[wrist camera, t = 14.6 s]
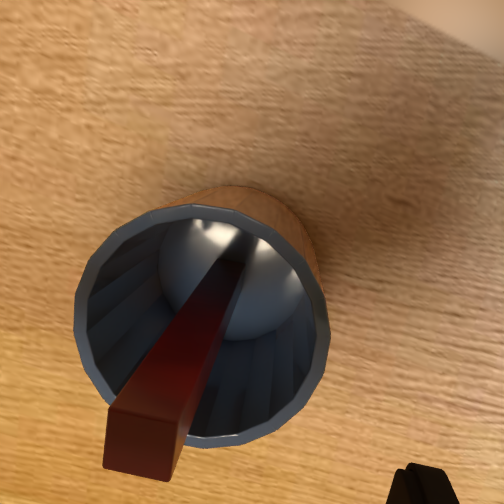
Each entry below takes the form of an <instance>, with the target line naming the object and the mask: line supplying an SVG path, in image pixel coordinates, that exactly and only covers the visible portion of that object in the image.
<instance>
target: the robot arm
mask: <svg viewBox="0 0 504 504" xmlns="http://www.w3.org/2000/svg"><path fill="white" fill-rule="evenodd" d="M386 504H460V503H459V501H458V499H457V497H456V494H455V492H454V490H453V488H452V486H451V483H450V481H449V479H448V477H447V475H446V473H445V472H444V471H443V470H442V469H439V468H434V467H430V466H425V465H421V464H416V463H409V464H408V465H407V467H406V469H405V470H404V469H397V471H396V473H395V475H394V479H393V482H392V485H391V489H390V492H389V495H388V499H387V502H386Z"/></svg>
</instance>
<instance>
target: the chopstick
mask: <svg viewBox="0 0 504 504" xmlns="http://www.w3.org/2000/svg"><path fill="white" fill-rule="evenodd" d="M245 267H246V264H244V263H239V262H234V261H229V260H223V259H216V261H215V262H214V263H213V265H212V266H211V268H210V269H209V270H208V272H207V273H206V275H205V276H204V277H203V279H202V280H201V281H200V283H199V284H198V286H197V287H196V288H195V290H194V291H193V292H192V294H191V295H190V297H189V298H188V299H187V301H186V302H185V303H184V305H183V306H182V308H181V309H180V310H179V312H178V313H177V314H176V316H175V317H174V319H173V320H172V321H171V323H170V324H169V325H168V327H167V328H166V330H165V331H164V332H163V334H162V335H161V336H160V338H159V339H158V341H157V342H156V343H155V345H154V346H153V347H152V349H151V350H150V352H149V353H148V354H147V356H146V357H145V359H144V360H143V361H142V363H141V364H140V365H139V367H138V368H137V370H136V371H135V372H134V374H133V375H132V376H131V378H130V379H129V381H128V382H127V383H126V385H125V386H124V387H123V389H122V390H121V392H120V393H119V394H118V396H117V397H116V398H115V400H114V401H113V403H112V404H111V405H110V407H109V408H108V416H107V425H106V435H105V445H104V454H103V464H102V466H103V468H104V469H108V470H113V471H117V472H122V473H127V474H131V475H136V476H140V477H145V478H150V479H154V480H159V481H163V482H169V481H170V480H171V478H172V475H173V472H174V470H175V467H176V464H177V461H178V459H179V456H180V453H181V451H182V448H183V445H184V443H185V440H186V437H187V435H188V432H189V429H190V427H191V424H192V421H193V419H194V416H195V413H196V411H197V408H198V405H199V403H200V400H201V397H202V395H203V392H204V389H205V387H206V384H207V381H208V378H209V376H210V373H211V370H212V368H213V365H214V362H215V360H216V357H217V354H218V352H219V349H220V346H221V344H222V341H223V338H224V336H225V333H226V330H227V328H228V325H229V322H230V320H231V317H232V314H233V312H234V309H235V306H236V304H237V301H238V298H239V295H240V293H241V290H242V284H243V278H244V272H245Z"/></svg>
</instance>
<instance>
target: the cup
mask: <svg viewBox="0 0 504 504" xmlns="http://www.w3.org/2000/svg"><path fill="white" fill-rule="evenodd" d="M216 259H223V260H229V261H234V262H239V263H244V264H246V267H245V272H244V278H243V284H242V290H241V293H240V295H239V298H238V301H237V304H236V306H235V309H234V312H233V314H232V317H231V320H230V322H229V325H228V328H227V330H226V333H225V336H224V338H223V341H222V344H221V346H220V349H219V352H218V354H217V357H216V360H215V362H214V365H213V368H212V370H211V373H210V376H209V378H208V381H207V384H206V387H205V389H204V392H203V395H202V397H201V400H200V403H199V405H198V408H197V411H196V413H195V416H194V419H193V421H192V424H191V427H190V429H189V432H188V435H187V437H186V440H185V443H184V445H185V446H191V447H196V448H202V449H204V448H205V449H208V448H218V447H228V446H238V445H243V444H246V443H248V442H251V441H253V440H255V439H258V438H260V437H263V436H265V435H268V434H270V433H272V432H275V431H276V430H278V429H279V428H280V427H281V426H283V425H284V424H285V423H286V422H287V421H288V420H290V419H291V418H292V417H293V416H294V415H295V414H297V413H298V412H299V411H300V410H301V409H302V408H304V406H305V405H306V404H307V402H308V400H309V399H310V397H311V395H312V393H313V392H314V390H315V388H316V387H317V385H318V383H319V382H320V380H321V378H322V376H323V374H324V371H325V366H326V361H327V356H328V351H329V345H330V340H331V331H330V324H329V318H328V311H327V305H326V298H325V294H324V290H323V285H322V281H321V277H320V273H319V268H318V264H317V260H316V256H315V251H314V247H313V244H312V242H311V240H310V238H309V235H308V234H307V232H306V230H305V228H304V226H303V225H302V223H301V222H300V220H299V219H298V218H297V216H296V215H295V214H294V213H293V212H292V211H291V210H290V209H289V208H288V207H287V206H285V205H284V204H283V203H282V202H281V201H279V200H277V199H276V198H274V197H272V196H271V195H268V194H266V193H264V192H262V191H259V190H255V189H252V188H248V187H241V186H222V187H215V188H211V189H206V190H202V191H199V192H196V193H194V194H191V195H189V196H186V197H183V198H181V199H178V200H176V201H173V202H171V203H168V204H165V205H163V206H160V207H158V208H155V209H152V210H150V211H148V212H146V213H144V214H142V215H140V216H139V217H137V218H135V219H133V220H131V221H130V222H128V223H126V224H124V225H122V226H121V227H119V228H117V229H116V230H115V231H113V232H112V233H111V234H110V236H109V237H108V238H107V239H106V240H105V241H104V242H103V244H102V245H101V246H100V247H99V248H98V249H97V250H96V251H95V253H94V254H93V255H92V256H91V257H90V259H89V260H88V262H87V265H86V267H85V270H84V272H83V275H82V277H81V280H80V283H79V285H78V288H77V290H76V293H75V302H74V327H73V331H74V337H75V340H76V344H77V347H78V351H79V354H80V358H81V361H82V365H83V368H84V370H85V372H86V373H87V375H88V376H89V378H90V379H91V381H92V383H93V384H94V386H95V387H96V389H97V390H98V392H99V393H100V395H101V397H102V398H103V399H104V400H105V402H106V403H108V404H109V405H111V404H112V403H113V401H114V400H115V398H116V397H117V396H118V394H119V393H120V392H121V390H122V389H123V387H124V386H125V385H126V383H127V382H128V381H129V379H130V378H131V376H132V375H133V374H134V372H135V371H136V370H137V368H138V367H139V365H140V364H141V363H142V361H143V360H144V359H145V357H146V356H147V354H148V353H149V352H150V350H151V349H152V347H153V346H154V345H155V343H156V342H157V341H158V339H159V338H160V336H161V335H162V334H163V332H164V331H165V330H166V328H167V327H168V325H169V324H170V323H171V321H172V320H173V319H174V317H175V316H176V314H177V313H178V312H179V310H180V309H181V308H182V306H183V305H184V303H185V302H186V301H187V299H188V298H189V297H190V295H191V294H192V292H193V291H194V290H195V288H196V287H197V286H198V284H199V283H200V281H201V280H202V279H203V277H204V276H205V275H206V273H207V272H208V270H209V269H210V268H211V266H212V265H213V263H214V262H215V261H216Z"/></svg>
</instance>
